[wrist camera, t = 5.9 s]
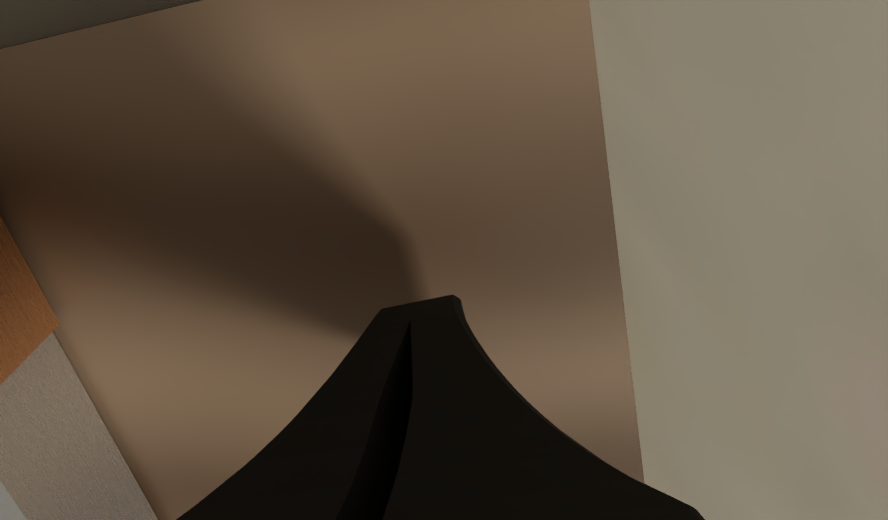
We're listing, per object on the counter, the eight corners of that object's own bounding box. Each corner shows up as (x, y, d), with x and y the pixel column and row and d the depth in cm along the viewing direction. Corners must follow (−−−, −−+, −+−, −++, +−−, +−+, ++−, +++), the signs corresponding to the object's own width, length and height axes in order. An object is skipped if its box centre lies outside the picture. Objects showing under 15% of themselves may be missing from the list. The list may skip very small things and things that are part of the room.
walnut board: (654, 659, 19) (671, 715, 17) (-121, 771, 21) (-160, 830, 19) (560, -88, 10) (578, -91, 9) (-702, 219, 13) (-839, 252, 11)
